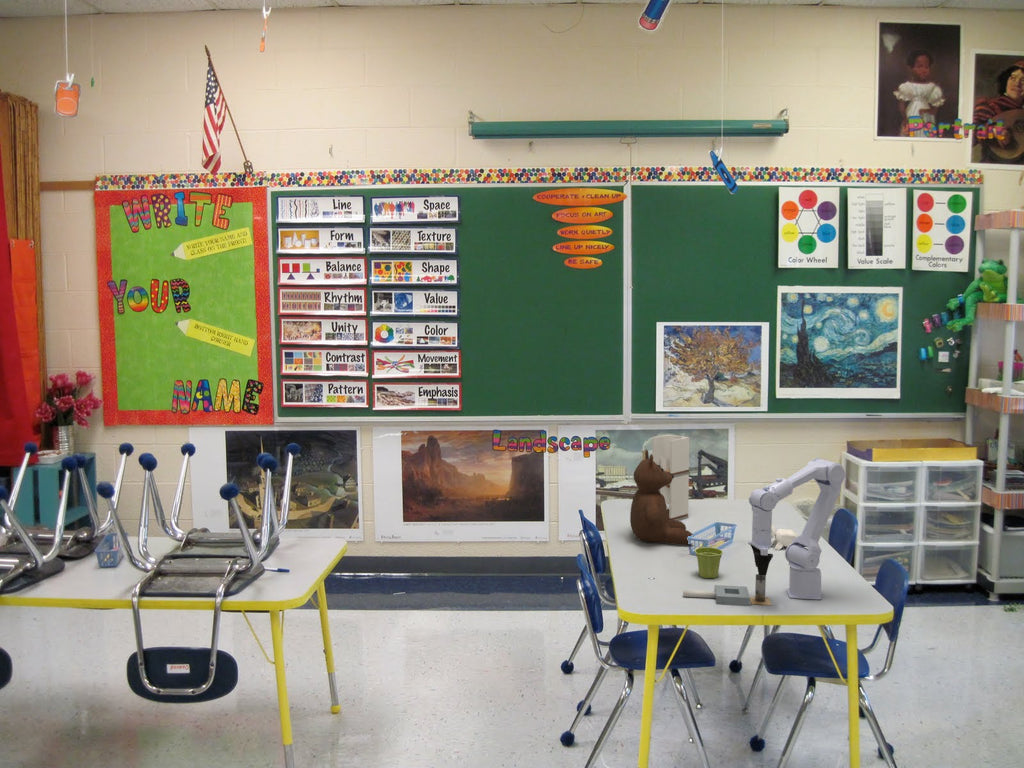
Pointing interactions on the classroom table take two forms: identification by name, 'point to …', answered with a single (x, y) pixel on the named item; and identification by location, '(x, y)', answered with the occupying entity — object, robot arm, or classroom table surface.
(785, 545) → the white animal figurine
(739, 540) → the classroom table surface
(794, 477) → the robot arm
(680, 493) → the white banded box
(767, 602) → the pad
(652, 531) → the stuffed bear
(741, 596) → the block
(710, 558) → the plant pot
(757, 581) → the shiny metal cylinder
